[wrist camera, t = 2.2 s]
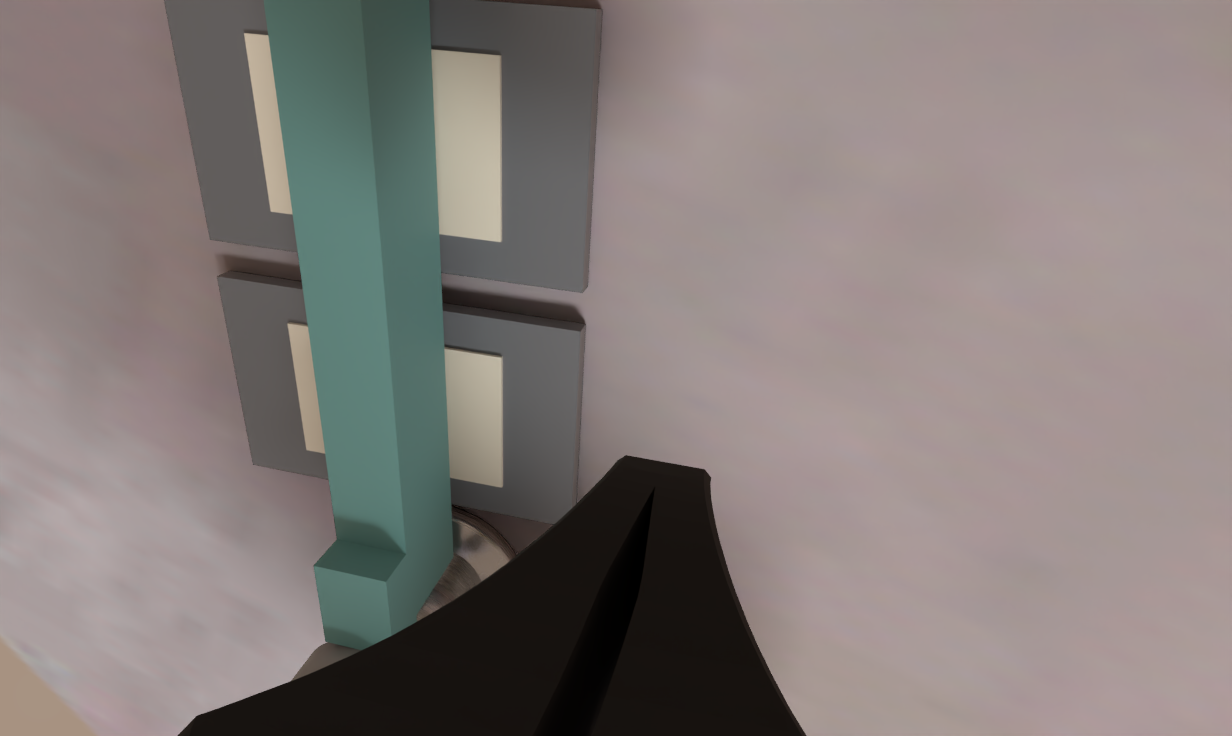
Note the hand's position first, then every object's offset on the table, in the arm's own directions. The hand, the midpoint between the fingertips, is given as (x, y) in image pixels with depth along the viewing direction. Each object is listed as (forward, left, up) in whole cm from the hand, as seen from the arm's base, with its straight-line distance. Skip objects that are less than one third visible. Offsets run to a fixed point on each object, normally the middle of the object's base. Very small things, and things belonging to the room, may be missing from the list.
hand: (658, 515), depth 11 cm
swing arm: (-2, +7, -5) cm, 9 cm away
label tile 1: (+4, +8, -7) cm, 11 cm away
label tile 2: (-3, +8, -7) cm, 11 cm away
